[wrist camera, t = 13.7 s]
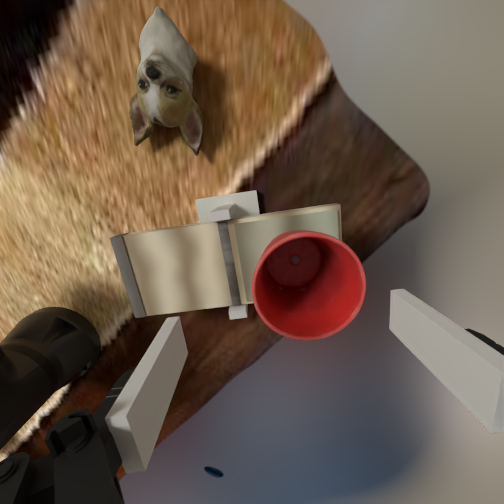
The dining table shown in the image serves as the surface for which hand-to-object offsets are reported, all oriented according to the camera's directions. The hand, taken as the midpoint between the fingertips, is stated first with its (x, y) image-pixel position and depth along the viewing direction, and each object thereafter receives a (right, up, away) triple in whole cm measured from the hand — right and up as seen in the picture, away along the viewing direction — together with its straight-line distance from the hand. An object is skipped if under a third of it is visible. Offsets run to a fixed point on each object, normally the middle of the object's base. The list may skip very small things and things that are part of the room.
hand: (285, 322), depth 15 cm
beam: (-5, +3, +19) cm, 20 cm away
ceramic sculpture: (-14, +27, +21) cm, 37 cm away
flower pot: (+3, +4, +17) cm, 17 cm away
